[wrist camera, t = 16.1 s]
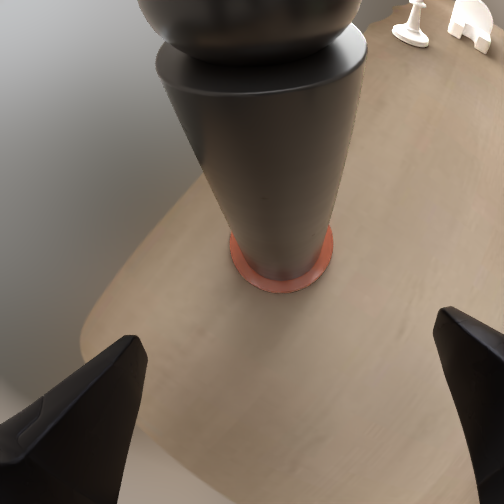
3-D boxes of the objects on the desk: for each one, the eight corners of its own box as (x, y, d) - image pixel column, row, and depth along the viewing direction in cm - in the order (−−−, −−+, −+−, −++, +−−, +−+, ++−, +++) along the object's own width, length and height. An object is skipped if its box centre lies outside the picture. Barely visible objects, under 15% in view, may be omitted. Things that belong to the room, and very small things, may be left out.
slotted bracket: (451, 15, 27) (459, -15, 20) (484, 34, 25) (493, 4, 18) (447, 32, 24) (457, -6, 17) (486, 55, 22) (500, 18, 15)
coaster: (302, 312, 15) (302, 311, 15) (212, 262, 17) (210, 260, 17) (348, 224, 17) (349, 221, 16) (262, 184, 18) (262, 180, 18)
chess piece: (407, 27, 24) (418, -30, 15) (435, 46, 23) (450, -14, 13) (384, 29, 24) (393, -34, 15) (413, 48, 23) (428, -19, 13)
